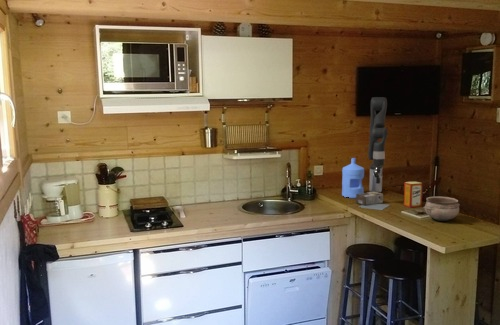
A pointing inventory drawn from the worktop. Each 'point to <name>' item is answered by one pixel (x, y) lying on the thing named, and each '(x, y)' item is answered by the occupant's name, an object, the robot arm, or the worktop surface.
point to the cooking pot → (442, 208)
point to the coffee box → (369, 198)
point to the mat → (375, 206)
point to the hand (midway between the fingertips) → (378, 183)
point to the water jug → (352, 179)
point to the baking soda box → (413, 194)
